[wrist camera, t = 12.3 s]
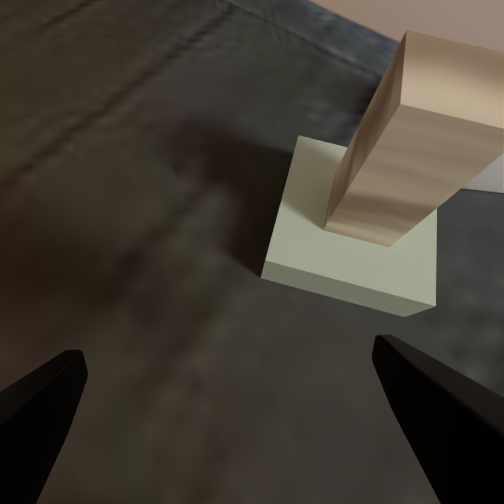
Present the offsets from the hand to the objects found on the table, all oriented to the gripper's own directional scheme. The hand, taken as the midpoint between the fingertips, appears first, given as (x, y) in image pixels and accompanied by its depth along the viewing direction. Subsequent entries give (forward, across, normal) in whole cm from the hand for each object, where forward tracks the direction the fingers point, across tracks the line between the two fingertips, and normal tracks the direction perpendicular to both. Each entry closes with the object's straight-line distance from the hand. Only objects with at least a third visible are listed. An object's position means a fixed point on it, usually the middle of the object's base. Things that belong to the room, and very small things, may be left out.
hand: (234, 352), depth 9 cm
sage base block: (+17, -10, +2) cm, 20 cm away
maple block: (+14, -10, -1) cm, 17 cm away
